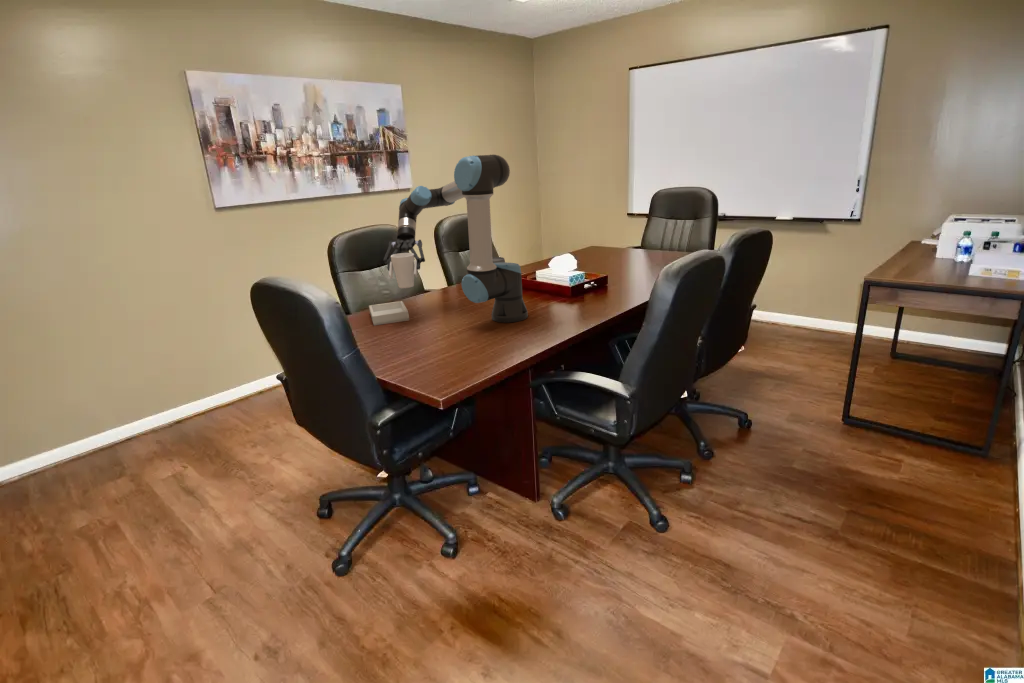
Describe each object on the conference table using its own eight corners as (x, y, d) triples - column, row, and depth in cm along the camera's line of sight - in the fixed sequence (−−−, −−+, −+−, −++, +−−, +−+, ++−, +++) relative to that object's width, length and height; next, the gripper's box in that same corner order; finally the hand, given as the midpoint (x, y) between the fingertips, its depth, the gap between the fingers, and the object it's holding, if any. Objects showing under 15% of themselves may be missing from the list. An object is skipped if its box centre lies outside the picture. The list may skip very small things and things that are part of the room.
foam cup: (412, 289, 213) (408, 257, 209) (391, 289, 215) (386, 257, 211) (420, 283, 222) (417, 252, 218) (400, 283, 224) (396, 253, 220)
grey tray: (409, 320, 227) (408, 311, 226) (373, 325, 223) (372, 316, 222) (403, 309, 245) (402, 300, 244) (370, 314, 241) (368, 305, 240)
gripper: (434, 235, 227) (431, 279, 217) (383, 238, 227) (378, 282, 218) (430, 224, 220) (428, 270, 210) (378, 227, 221) (373, 272, 211)
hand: (403, 276), depth 214 cm, fingers closed on foam cup, 9 cm apart
